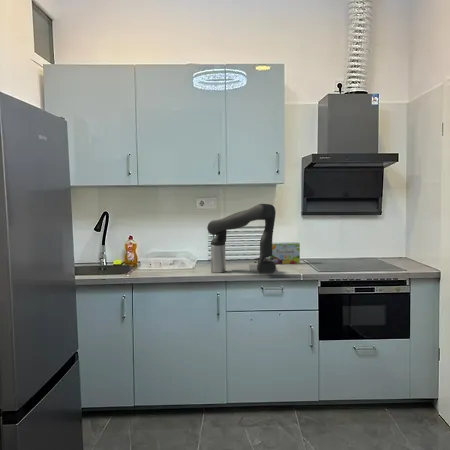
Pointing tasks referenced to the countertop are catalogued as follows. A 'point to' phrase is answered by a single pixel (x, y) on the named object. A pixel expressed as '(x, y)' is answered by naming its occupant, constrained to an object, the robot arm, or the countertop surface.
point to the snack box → (286, 253)
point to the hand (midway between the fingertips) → (263, 258)
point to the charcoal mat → (254, 268)
